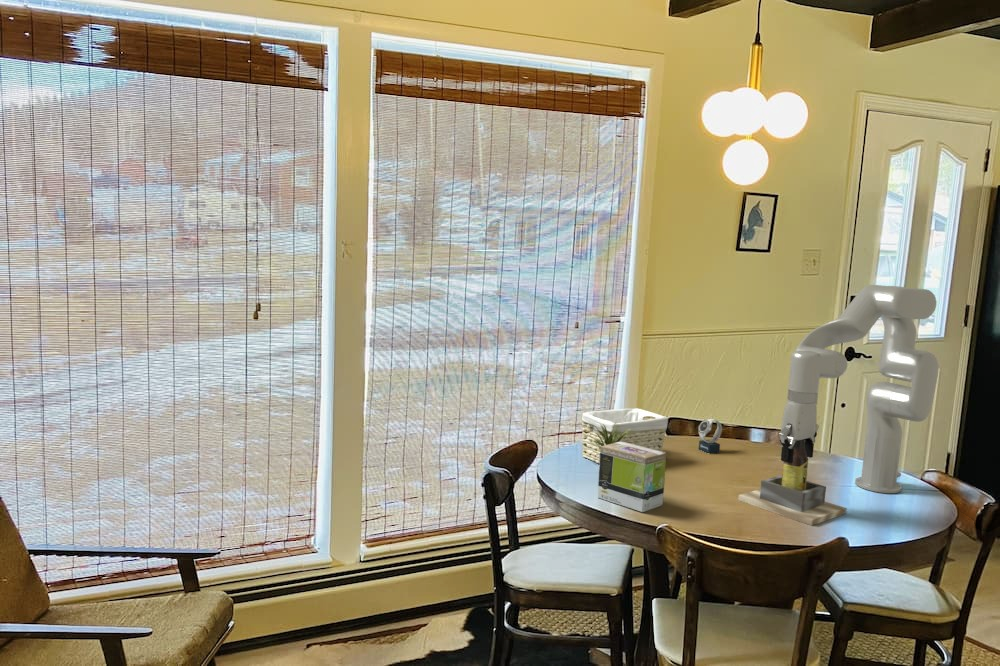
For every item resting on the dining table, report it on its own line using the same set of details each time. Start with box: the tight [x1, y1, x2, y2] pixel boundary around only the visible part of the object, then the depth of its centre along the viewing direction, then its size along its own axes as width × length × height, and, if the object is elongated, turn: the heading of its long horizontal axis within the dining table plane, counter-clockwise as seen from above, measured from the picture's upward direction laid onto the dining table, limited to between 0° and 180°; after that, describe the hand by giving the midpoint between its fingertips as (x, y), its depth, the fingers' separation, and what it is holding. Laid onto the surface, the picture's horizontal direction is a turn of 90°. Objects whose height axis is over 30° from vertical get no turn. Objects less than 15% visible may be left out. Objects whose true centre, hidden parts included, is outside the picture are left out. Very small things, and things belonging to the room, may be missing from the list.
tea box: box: [597, 441, 667, 513], centre depth 216 cm, size 15×10×15 cm
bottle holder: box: [737, 474, 847, 527], centre depth 218 cm, size 17×22×6 cm
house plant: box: [588, 423, 633, 465], centre depth 238 cm, size 14×14×16 cm
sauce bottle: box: [781, 436, 809, 492], centre depth 217 cm, size 6×6×20 cm
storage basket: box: [581, 407, 669, 464], centre depth 256 cm, size 24×16×15 cm
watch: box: [697, 418, 723, 454], centre depth 271 cm, size 6×8×11 cm
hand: (796, 459), depth 217 cm, fingers open, 9 cm apart
